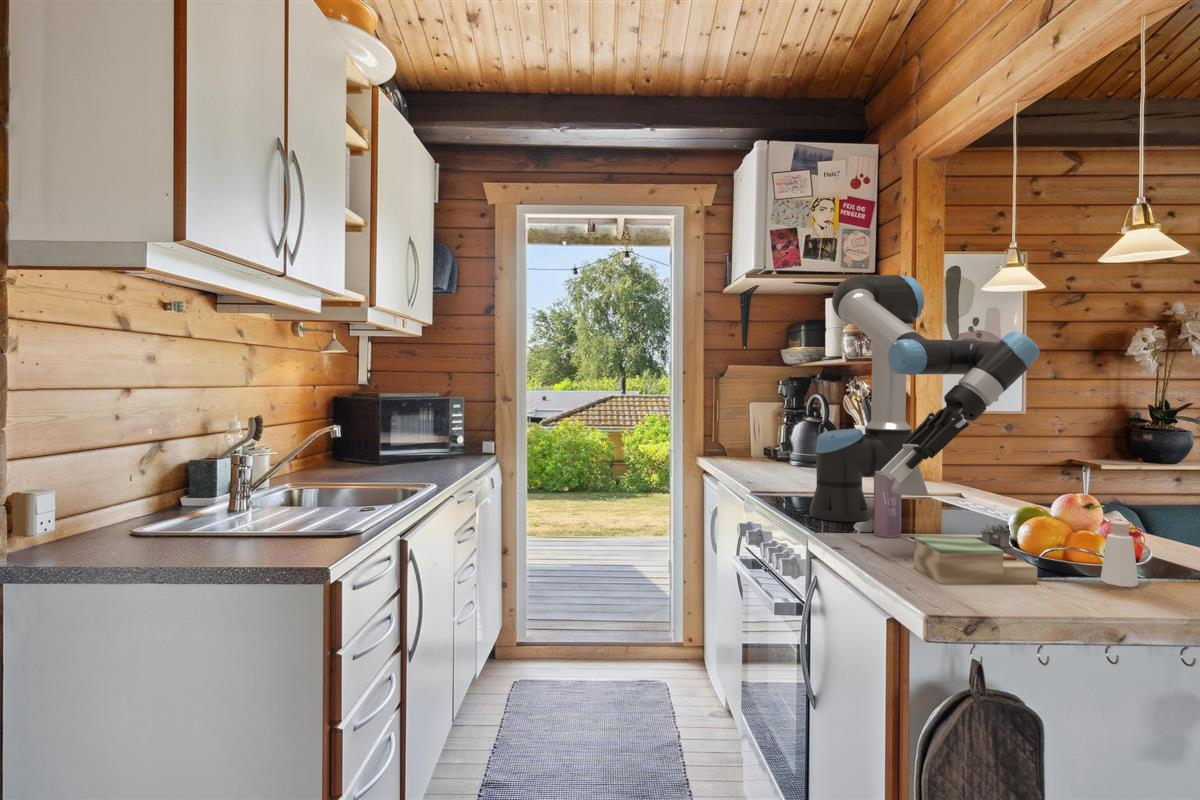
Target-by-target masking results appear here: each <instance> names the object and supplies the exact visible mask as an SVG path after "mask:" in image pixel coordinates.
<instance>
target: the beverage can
mask: <svg viewBox="0 0 1200 800" xmlns="http://www.w3.org/2000/svg"><path fill="white" fill-rule="evenodd" d="M894 481H895V478H893V479H892V480H890V479H889V478H888V477H887V476H886V475H885V474H884V473H883V472H882V471H875V475H874V477H873V533H874V534H875V536H877V537H880V538H887V539H889V538H891V539H894V538H898V537H900V536H901V535H902V494H897V493H894V492H891V489H892V486H893V484H894Z"/></svg>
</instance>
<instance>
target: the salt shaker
mask: <svg viewBox="0 0 1200 800" xmlns="http://www.w3.org/2000/svg"><path fill="white" fill-rule="evenodd" d="M1109 522H1110V523H1109V524H1110V533H1108V534H1106V538H1105V545H1104V551H1103V557H1102V558H1103V560H1102V567H1101V573H1100V581H1101V582H1103V583H1104V584H1107V585H1111V586H1117V587H1124V588H1127V587H1128V588H1134V587H1137V586H1138V585H1139V578H1138V570H1137V569H1138V568H1137V561H1136V560H1137V559H1136V553H1135V551H1136V550H1135V544H1134V543H1135V542H1134V537H1133V536H1131V535H1129V534H1130V533H1129V532H1130V525H1131V524H1130V522H1128V521H1126V520H1125V521H1124V520H1116V519H1115V520H1111V521H1109Z"/></svg>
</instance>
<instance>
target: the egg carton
mask: <svg viewBox="0 0 1200 800" xmlns="http://www.w3.org/2000/svg"><path fill="white" fill-rule="evenodd" d="M979 533H981V539H982V540H981V541H982V542H985V543H987V544H989V545H998V546H1000V547H1001V548H1006V547H1007V548H1011V547H1010V544H1009V536H1010V530H1009V524H1007V523H1005V522H1000V523H999V524H998V525H991V526H988V527H986V528H985V527H980V529H979Z"/></svg>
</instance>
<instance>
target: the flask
mask: <svg viewBox="0 0 1200 800" xmlns="http://www.w3.org/2000/svg"><path fill="white" fill-rule="evenodd" d="M902 447H903V448H904V454H903V459H904V458H905V457H906V456H907V455H908V454H909V453H910V452H911V451H912V450H913V451H915V450H914V449H913V447H919V445H916V444H903V445H902ZM915 452H916V451H915ZM916 453H917V452H916ZM903 459H902V460H903ZM891 492H894V493H897V494H901V495H904V496H905V495H906V496H913V497H914V496H928V493H929V492H928V490H927V485H926V483H925V480H924V477H923V474H922V472H921V467H920V464H919V465H918V466H917V467H916V468H915V469H914V470H913V471H912V472H911V473H910V474H909V475H908V476H907V477H906V478H905V479H904V480H903V481H902V482H901V483H899V482H898V481H897V480H896V479H895V481H894V484H893V486H892V489H891Z"/></svg>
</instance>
